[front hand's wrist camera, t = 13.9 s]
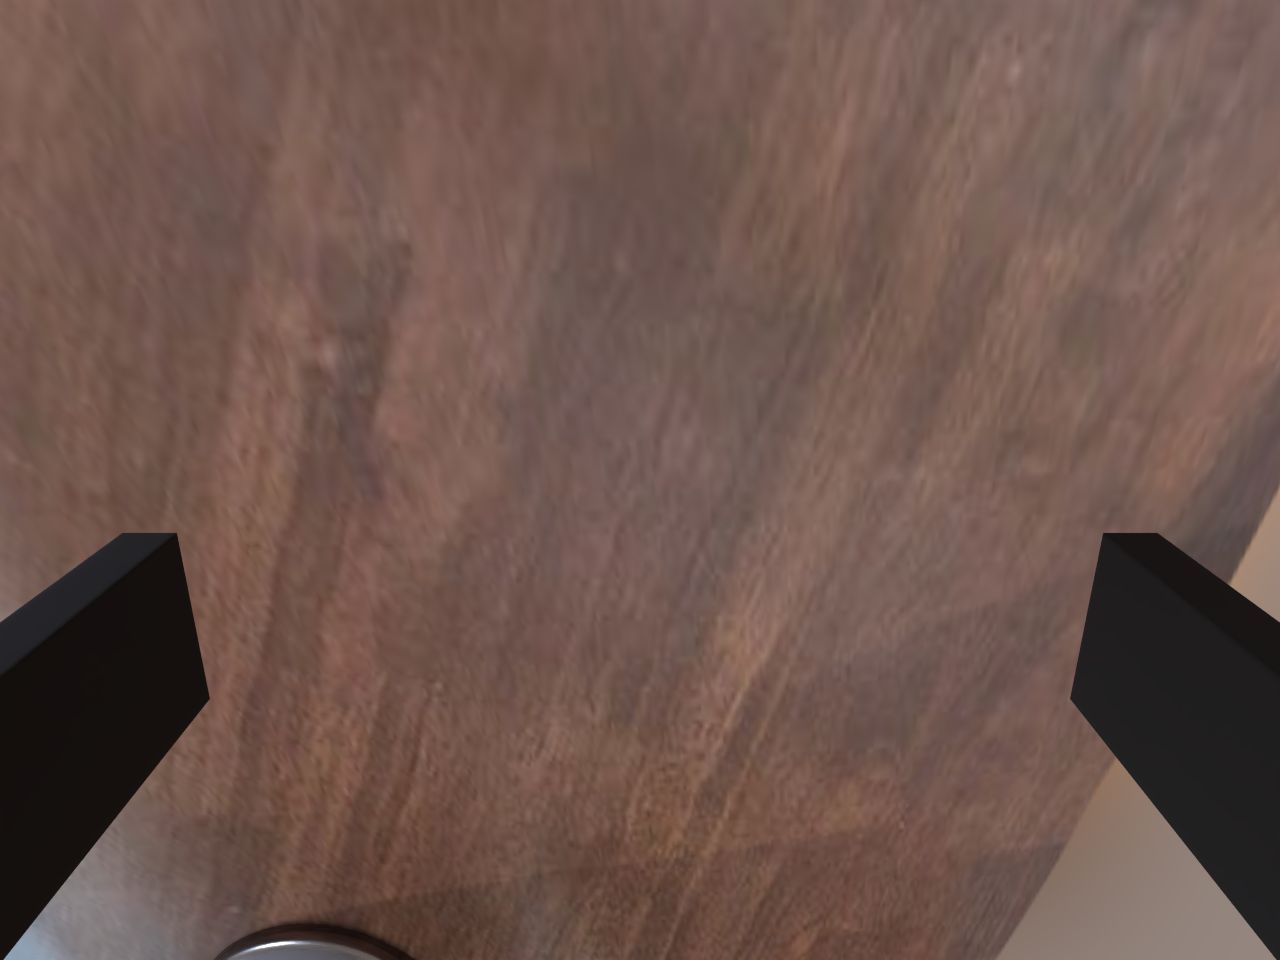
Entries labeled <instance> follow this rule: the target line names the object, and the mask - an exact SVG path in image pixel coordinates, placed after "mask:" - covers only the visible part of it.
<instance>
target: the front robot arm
mask: <svg viewBox="0 0 1280 960" xmlns="http://www.w3.org/2000/svg"><path fill="white" fill-rule="evenodd" d="M209 699H210V697H209V692H208V687H207V682H206V677H205V672H204V667H203V662H202V657H201V652H200V647H199V642H198V637H197V632H196V627H195V622H194V617H193V612H192V607H191V602H190V597H189V592H188V587H187V582H186V577H185V572H184V567H183V562H182V557H181V552H180V547H179V542H178V537H177V533H122V534H121V535H119V536H118V537H117V538H115V539H114V540H112V541H111V542H110V543H108V544H107V545H106V546H104V547H103V548H102V549H100V550H99V551H97V552H96V553H95V554H93V555H92V556H91V557H89V558H88V559H86V560H85V561H84V562H82V563H81V564H80V565H78V566H77V567H76V568H74V569H73V570H71V571H70V572H69V573H67V574H66V575H65V576H63V577H62V578H60V579H59V580H58V581H56V582H55V583H54V584H52V585H51V586H50V587H48V588H47V589H45V590H44V591H43V592H41V593H40V594H39V595H37V596H36V597H34V598H33V599H32V600H30V601H29V602H28V603H26V604H25V605H24V606H22V607H21V608H19V609H18V610H17V611H15V612H14V613H13V614H11V615H10V616H9V617H7V618H6V619H4V620H3V621H2V622H0V960H4V958H5V957H6V956H7V954H8V953H9V952H10V951H11V949H12V948H13V947H14V946H15V944H16V943H17V942H18V941H19V939H20V938H21V937H22V936H23V934H24V933H25V932H26V930H27V929H28V928H29V927H30V925H31V924H32V923H33V922H34V920H35V919H36V918H37V917H38V915H39V914H40V913H41V912H42V910H43V909H44V908H45V906H46V905H47V904H48V903H49V901H50V900H51V899H52V898H53V896H54V895H55V894H56V893H57V891H58V890H59V889H60V887H61V886H62V885H63V884H64V882H65V881H66V880H67V879H68V877H69V876H70V875H71V874H72V872H73V871H74V870H75V869H76V867H77V866H78V865H79V863H80V862H81V861H82V860H83V858H84V857H85V856H86V855H87V853H88V852H89V851H90V850H91V848H92V847H93V846H94V845H95V843H96V842H97V841H98V839H99V838H100V837H101V836H102V834H103V833H104V832H105V831H106V829H107V828H108V827H109V826H110V824H111V823H112V822H113V820H114V819H115V818H116V817H117V815H118V814H119V813H120V812H121V810H122V809H123V808H124V807H125V805H126V804H127V803H128V802H129V800H130V799H131V798H132V796H133V795H134V794H135V793H136V791H137V790H138V789H139V788H140V786H141V785H142V784H143V783H144V781H145V780H146V779H147V778H148V776H149V775H150V774H151V772H152V771H153V770H154V769H155V767H156V766H157V765H158V764H159V762H160V761H161V760H162V759H163V757H164V756H165V755H166V753H167V752H168V751H169V750H170V748H171V747H172V746H173V745H174V743H175V742H176V741H177V740H178V738H179V737H180V736H181V735H182V733H183V732H184V731H185V729H186V728H187V727H188V726H189V724H190V723H191V722H192V721H193V719H194V718H195V717H196V716H197V714H198V713H199V712H200V711H201V709H202V708H203V707H204V705H205V704H206V703H207V702H208V700H209ZM1070 699H1071V700H1072V702H1073V703H1074V704H1075V705H1076V707H1077V708H1078V709H1079V711H1080V712H1081V713H1082V714H1083V716H1084V717H1085V718H1086V719H1087V721H1088V722H1089V723H1090V724H1091V726H1092V727H1093V728H1094V729H1095V731H1096V732H1097V733H1098V735H1099V736H1100V737H1101V738H1102V740H1103V741H1104V742H1105V743H1106V745H1107V746H1108V747H1109V748H1110V750H1111V751H1112V752H1113V753H1114V755H1115V756H1116V757H1117V759H1118V760H1119V761H1120V762H1121V764H1122V765H1123V766H1124V767H1125V769H1126V770H1127V771H1128V772H1129V774H1130V775H1131V776H1132V778H1133V779H1134V780H1135V781H1136V783H1137V784H1138V785H1139V786H1140V788H1141V789H1142V790H1143V791H1144V793H1145V794H1146V795H1147V796H1148V798H1149V799H1150V800H1151V802H1152V803H1153V804H1154V805H1155V807H1156V808H1157V809H1158V810H1159V812H1160V813H1161V814H1162V815H1163V817H1164V818H1165V819H1166V820H1167V822H1168V823H1169V824H1170V826H1171V827H1172V828H1173V829H1174V831H1175V832H1176V833H1177V834H1178V836H1179V837H1180V838H1181V839H1182V841H1183V842H1184V843H1185V845H1186V846H1187V847H1188V848H1189V850H1190V851H1191V852H1192V853H1193V855H1194V856H1195V857H1196V858H1197V860H1198V861H1199V862H1200V863H1201V865H1202V866H1203V867H1204V869H1205V870H1206V871H1207V872H1208V874H1209V875H1210V876H1211V877H1212V879H1213V880H1214V881H1215V882H1216V884H1217V885H1218V886H1219V887H1220V889H1221V890H1222V891H1223V893H1224V894H1225V895H1226V896H1227V898H1228V899H1229V900H1230V901H1231V903H1232V904H1233V905H1234V906H1235V908H1236V909H1237V910H1238V912H1239V913H1240V914H1241V915H1242V917H1243V918H1244V919H1245V920H1246V922H1247V923H1248V924H1249V925H1250V927H1251V928H1252V929H1253V930H1254V932H1255V933H1256V934H1257V936H1258V937H1259V938H1260V939H1261V940H1262V942H1263V943H1264V944H1265V946H1266V947H1267V948H1268V949H1269V951H1270V952H1271V953H1272V954H1273V956H1274V957H1275V958H1276V959H1277V960H1280V622H1278V621H1277V620H1276V619H1274V618H1273V617H1271V616H1270V615H1269V614H1267V613H1266V612H1265V611H1263V610H1262V609H1261V608H1259V607H1258V606H1256V605H1255V604H1254V603H1252V602H1251V601H1250V600H1248V599H1247V598H1245V597H1244V596H1243V595H1241V594H1240V593H1239V592H1237V591H1236V590H1235V589H1233V588H1232V587H1230V586H1229V585H1228V584H1226V583H1225V582H1224V581H1222V580H1221V579H1220V578H1218V577H1217V576H1215V575H1214V574H1213V573H1211V572H1210V571H1209V570H1207V569H1206V568H1204V567H1203V566H1202V565H1200V564H1199V563H1198V562H1196V561H1195V560H1194V559H1192V558H1191V557H1189V556H1188V555H1187V554H1185V553H1184V552H1183V551H1181V550H1180V549H1178V548H1177V547H1176V546H1174V545H1173V544H1172V543H1170V542H1169V541H1168V540H1166V539H1165V538H1163V537H1162V536H1161V535H1159V534H1158V533H1103V537H1102V542H1101V547H1100V552H1099V557H1098V562H1097V567H1096V572H1095V577H1094V582H1093V587H1092V592H1091V597H1090V602H1089V607H1088V612H1087V617H1086V622H1085V627H1084V632H1083V637H1082V642H1081V647H1080V652H1079V657H1078V662H1077V667H1076V672H1075V677H1074V682H1073V687H1072V692H1071V697H1070ZM214 960H410V959H409V958H408V957H407V956H405V955H404V954H402V953H401V952H400V951H398V950H396V949H395V948H393V947H391V946H390V945H388V944H386V943H384V942H382V941H380V940H378V939H375V938H373V937H370V936H368V935H365V934H362V933H359V932H356V931H352V930H348V929H344V928H339V927H333V926H326V925H315V924H299V925H287V926H280V927H274V928H270V929H265V930H262V931H259V932H256V933H253V934H251V935H249V936H246V937H244V938H242V939H240V940H238V941H236V942H235V943H233V944H232V945H230V946H229V947H227V948H226V949H225V950H223V951H222V952H221V953H220V954H219V955H218V956H217V957H216V958H215V959H214Z"/></svg>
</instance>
